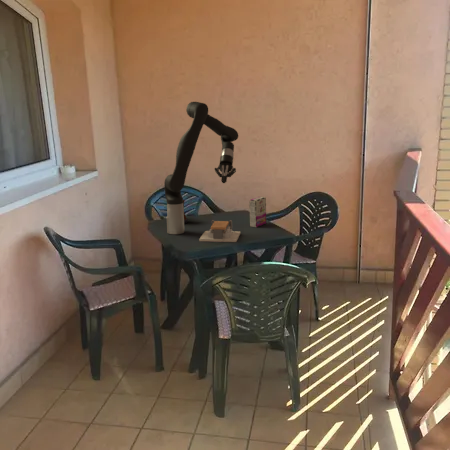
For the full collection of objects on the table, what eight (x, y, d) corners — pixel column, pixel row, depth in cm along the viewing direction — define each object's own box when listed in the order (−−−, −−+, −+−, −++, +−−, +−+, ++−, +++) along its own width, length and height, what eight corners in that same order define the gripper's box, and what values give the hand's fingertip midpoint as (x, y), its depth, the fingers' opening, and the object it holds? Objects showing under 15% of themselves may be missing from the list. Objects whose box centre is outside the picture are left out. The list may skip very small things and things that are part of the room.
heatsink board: (199, 241, 265) (198, 226, 264) (205, 232, 282) (205, 219, 280) (236, 242, 262) (235, 227, 260) (240, 233, 278) (240, 219, 277)
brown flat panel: (215, 222, 277) (210, 229, 265) (215, 220, 277) (210, 227, 265) (229, 223, 276) (225, 229, 264) (229, 221, 276) (225, 227, 263)
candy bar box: (259, 222, 302) (259, 196, 298) (266, 223, 299) (266, 197, 295) (249, 226, 293) (248, 199, 289) (256, 227, 290) (256, 200, 286)
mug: (166, 219, 317) (165, 196, 313) (183, 217, 320) (182, 194, 316) (171, 225, 300) (169, 201, 296) (189, 223, 303) (188, 199, 299)
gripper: (214, 154, 287) (211, 178, 278) (237, 154, 284) (234, 178, 276) (216, 162, 293) (213, 186, 284) (238, 162, 291) (236, 186, 282)
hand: (223, 182), depth 280 cm, fingers closed
